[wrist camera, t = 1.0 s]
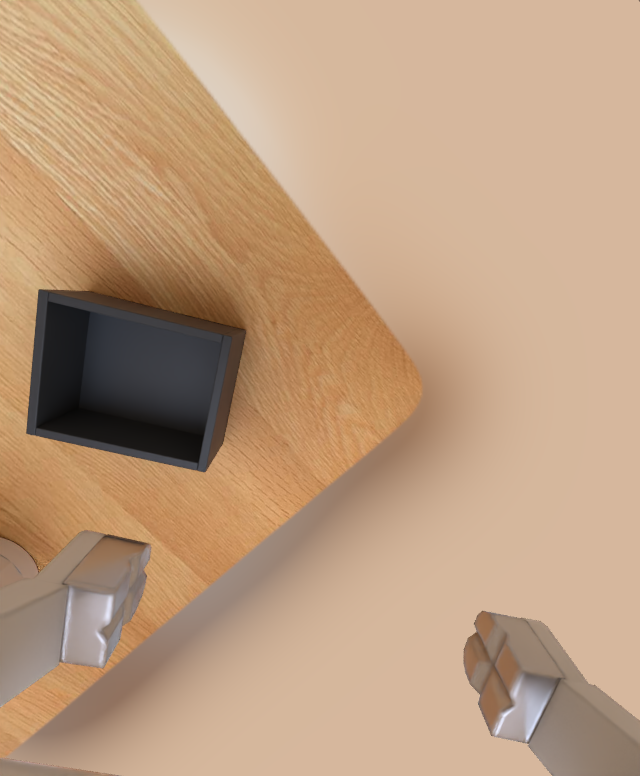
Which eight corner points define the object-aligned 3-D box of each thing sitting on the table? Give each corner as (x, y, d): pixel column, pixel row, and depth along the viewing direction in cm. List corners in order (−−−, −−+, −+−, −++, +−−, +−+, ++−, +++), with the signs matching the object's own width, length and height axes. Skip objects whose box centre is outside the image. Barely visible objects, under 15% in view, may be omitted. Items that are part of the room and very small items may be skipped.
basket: (246, 330, 24) (232, 336, 20) (222, 443, 26) (205, 472, 22) (88, 291, 24) (38, 288, 19) (74, 410, 25) (25, 433, 21)
